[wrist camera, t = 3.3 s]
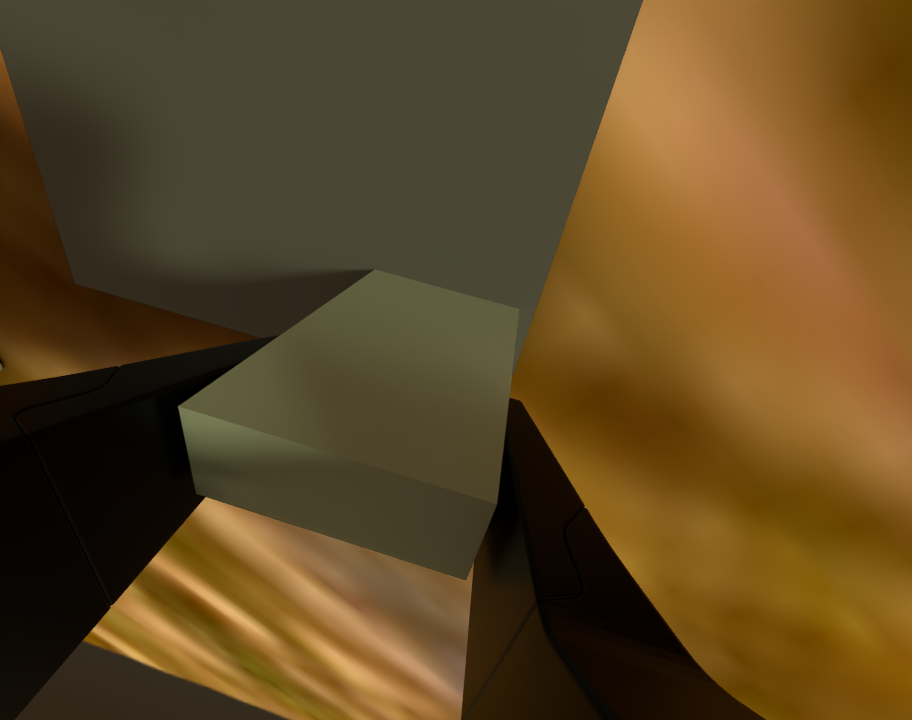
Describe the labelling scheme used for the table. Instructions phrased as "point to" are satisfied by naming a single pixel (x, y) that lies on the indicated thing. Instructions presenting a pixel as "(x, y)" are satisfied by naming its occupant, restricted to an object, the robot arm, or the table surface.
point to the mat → (311, 143)
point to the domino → (368, 422)
